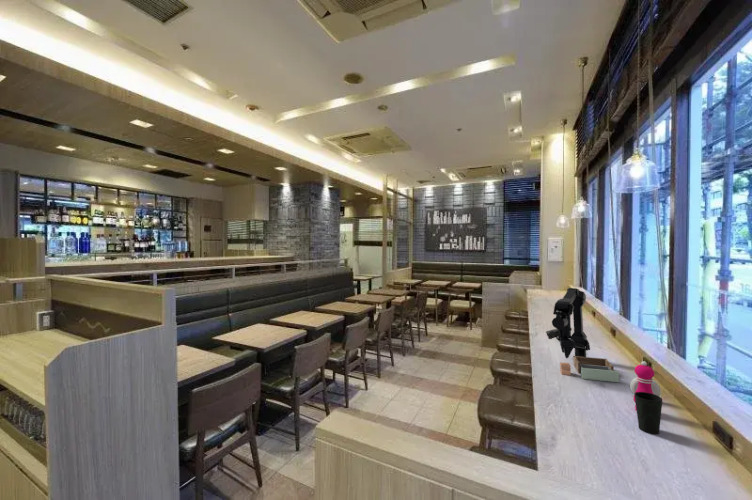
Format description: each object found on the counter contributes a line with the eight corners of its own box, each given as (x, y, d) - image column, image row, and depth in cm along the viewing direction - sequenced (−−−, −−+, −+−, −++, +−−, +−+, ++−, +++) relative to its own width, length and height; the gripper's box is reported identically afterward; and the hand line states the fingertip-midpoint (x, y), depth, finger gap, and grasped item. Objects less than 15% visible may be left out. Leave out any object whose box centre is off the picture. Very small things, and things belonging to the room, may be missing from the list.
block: (560, 371, 172) (560, 362, 172) (569, 372, 170) (568, 363, 170) (561, 374, 168) (561, 364, 168) (570, 375, 166) (570, 365, 166)
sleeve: (573, 365, 180) (573, 356, 180) (606, 368, 175) (606, 358, 175) (578, 373, 169) (578, 363, 169) (613, 376, 164) (613, 366, 164)
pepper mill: (651, 418, 124) (650, 365, 124) (629, 410, 130) (628, 360, 130) (661, 413, 127) (659, 362, 127) (639, 405, 133) (638, 357, 133)
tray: (576, 369, 173) (576, 360, 173) (611, 373, 167) (611, 363, 167) (582, 378, 162) (581, 368, 162) (619, 382, 156) (619, 371, 156)
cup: (665, 438, 111) (664, 403, 111) (636, 432, 115) (636, 398, 115) (660, 427, 117) (659, 394, 117) (633, 422, 121) (632, 390, 121)
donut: (659, 400, 137) (659, 377, 137) (661, 404, 134) (661, 380, 134) (629, 395, 142) (629, 373, 142) (631, 399, 139) (630, 375, 139)
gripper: (544, 320, 181) (545, 348, 181) (549, 328, 163) (550, 359, 163) (567, 321, 177) (568, 350, 177) (574, 329, 159) (575, 361, 159)
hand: (565, 355), depth 169 cm, fingers open, 9 cm apart
